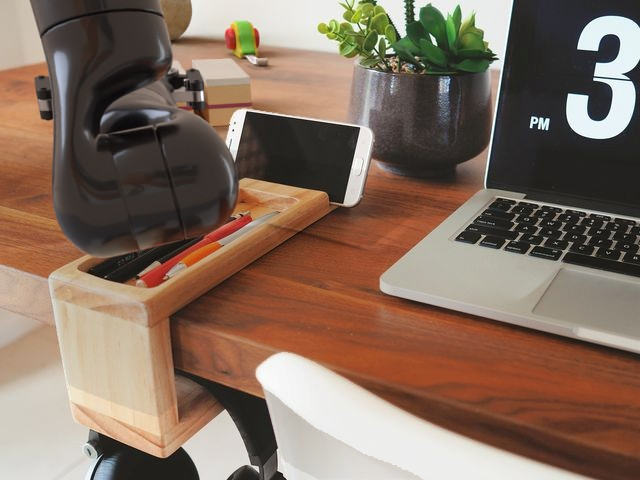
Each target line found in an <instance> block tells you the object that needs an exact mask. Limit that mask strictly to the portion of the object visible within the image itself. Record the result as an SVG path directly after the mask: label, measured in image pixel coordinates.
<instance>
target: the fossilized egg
mask: <svg viewBox="0 0 640 480" xmlns="http://www.w3.org/2000/svg"><path fill="white" fill-rule="evenodd" d="M160 4H161V8H162V11H163V15H164V20H165V23H166V26H167V30H168V34H169V38H170V42H171V41H174V40H177V39H179V38H180V37H182V36H183V34H184V33H186V31H187V30H188V28H189V27H190V24H191V21H192V19H193V4H192V0H160Z"/></svg>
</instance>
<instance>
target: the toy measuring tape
mask: <svg viewBox="0 0 640 480" xmlns="http://www.w3.org/2000/svg"><path fill="white" fill-rule="evenodd" d="M224 41H225V45H226V48H227V49H228V50H231V51H232V54H234V55H235V56H236V57H237V58H239V59H247V60H248V61H249V63H250V64H253V65H254V66H256V67H260V66H261V67H262V66H263V67H264V66H268V65H269V60H268V58H267V57H263V58H262V57H261V58H258V57H259V52H258V48H259V47H260V43H261V39H260V32H259V30H258V29H257V27H254V25H253V24H252V22H249V21H248V20H234V21H233V22H232V23H230V26H229V27H228V28H226V30H225V32H224Z"/></svg>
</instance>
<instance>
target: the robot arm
mask: <svg viewBox="0 0 640 480" xmlns="http://www.w3.org/2000/svg"><path fill="white" fill-rule="evenodd" d="M29 3H30V7H31V11H32V15H33V17H34V18H33V19H34V21H35V25H36V29H37V32H38V36H39V39H40V41H41V42H40V43H41V46H42V50H43V53H44V54H43V55H44V58H45V63H46V67H47V72H48V76H47V75H44V74H41V75H40V74H39V75H38V76H35V77H34V78H33V79H34V88H35V94H36V99H37V104H38V111H39V115H40V120H42V121H52V140H53V141H52V157H51V158H52V159H51V160H52V161H51V164H52V165H51V196H52V199H51V200H52V206H53V211H54V216H55V219H56V222H57V225H58V226H59V228H60V230H61V232H62V234H63V235H64V236H65V238H66V239H67V240H68V241H69V242H70V243H71V244H72V245H73V246H74V247H75V248H76V249H77V250H79V251H80V252H81V253H83V254H85V255H87V256H89V257H92V258H97V259H98V258H99V259H108V258H114V257H119V256H123V255H127V254H132V253H135V252H139V251H140V250H141V251H143V250H148V249H151V248H156V247H159V246H163V245H169V244H172V243H176V242H180V241H183V240H184V239H185V240H188V239H189V240H190V239H192V238H196V237H201V236H205V235H207V234H210V233H214V232H215V231H217V230H219V229H220V228H222V226H225V224H226V223H227V222H228V220H230V219H231V217H232V215H233V214H234V212H235V211H236V209H237V205H238V201H239V197H240V177H239V172H238V168H237V165H236V164H237V163H236V161H235V159H234V156H233V154H232V152H231V150H230V148H229V146H228V145H227V143H226V141H225V140H224V139H223V137H222V136H221V135H220V133H219V132H218V131H217V130H216V128H214V126H211V125H210V124H209V123H208V122H207V121H206V119H205V118H204V117H201V116H200V115H198V114H196V113H195V112H194V113H192V112H189V111H187V110H184V109H180V108H178V107H177V104H176V103H175V102H186V106H187V107H192V109H193V110H194V111H197V112H201V111H202V110H204V109H206V104H205V92H204V81H203V78H202V76H201V74H200V71H199V70H196V69H194V68H189V69H186V70H185V72H186V75H185V74H179V70H178V69H175V68H171V67H172V63H173V61H174V55H173V54H174V53H173V48H172V47H173V45H172V42H171V41H170V38H169V34H168V30H167V26H166V23H165V20H164V15H163V11H162V8H161V4H160V0H29Z"/></svg>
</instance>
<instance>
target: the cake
mask: <svg viewBox="0 0 640 480" xmlns="http://www.w3.org/2000/svg"><path fill="white" fill-rule="evenodd" d="M191 67H192V68H194V69H196V70H199V71H200V74H201V76H202V78H203V81H204V92H205V104H206V109H204V110H202V111H200V113H201V114H202V116H203V119H204V120H205V121H207V122H208V123H209V124H210V125H211V126H212V127H225V126H230V125H229V122H230V119H231V117H232V115H233V113H234V112H235V111H236V110H238V109H242V108H247V109H252V110H253V101H252V85H251V83H252V82H251V76H250V75H249V74H248V73H246V72H245V71H244V70H243V68H242V67H241V66H239V64H238V63H237V62H236V61H234V59H233V58H231V57H230V58H206V59H192V60H191ZM171 68H175V69H178V70H179V74H185V75H186V70H185V69H184V68H183V66H182V65H181V63H180V61H179V60H173V63H172V67H171ZM175 103H176V104H177V107H178V108H180V109H184V110H187V111H189V112H192V113H194V114H195V112H194V111H195V110H193V109H192V107H187V106H186V102H175Z"/></svg>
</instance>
